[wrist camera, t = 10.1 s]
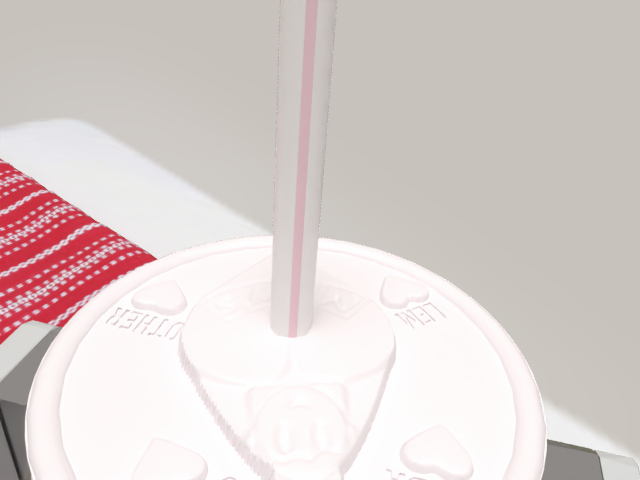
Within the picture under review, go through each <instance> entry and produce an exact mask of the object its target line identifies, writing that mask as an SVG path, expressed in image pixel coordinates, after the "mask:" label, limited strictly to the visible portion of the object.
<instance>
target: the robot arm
mask: <svg viewBox="0 0 640 480" xmlns="http://www.w3.org/2000/svg"><path fill="white" fill-rule="evenodd" d="M62 328H63V327H58V326H54V325H50V324H46V323H42V322H38V321H34V320H32V321H29V322H27V323H24V324H22V325H21V326H20V327H19V328H18V329H16V330H15V331H14V332H13V333H12V334H11V335H10V336H9V337H8V338H7V339H6V340H5V341H4V342H3V343H2V344H1V345H0V480H31V475H32V474H31V471H30V467H29V463H28V460H27V452H26V443H25V415H26V409H27V403H28V397H29V393H30V390H31V386H32V383H33V380H34V377H35V374H36V372H37V370H38V368H39V365H40V363H41V361H42V359H43V357H44V355H45V354H46V352H47V350H48V348H49V347H50V345H51V343H52V342H53V340H54V339H55V338H56V336H57V335H58V334H59V332H60V331H61V330H62ZM541 480H640V471H639V468H638V465H637V464H636V462H635V461H634V460H633V458H629V457H624V456H620V455H615V454H611V453H606V452H602V451H597V450H592V449H589V448H585V447H580V446H575V445H571V444H566V443H562V442H557V441H553V440H548V439H547V451H546V458H545V466H544V471H543V475H542V478H541Z"/></svg>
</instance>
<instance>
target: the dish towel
mask: <svg viewBox="0 0 640 480" xmlns="http://www.w3.org/2000/svg"><path fill="white" fill-rule="evenodd" d="M155 260H157V259H156V258H155V257H154V256H152V255H151V254H150V253H148V252H147V251H145V250H143V249H141V248H140V247H139V246H137V245H136V244H134V243H132V242H131V241H129V240H127V239H125V238H124V237H122V236H121V235H119V234H117V233H116V232H114V231H113V230H111V229H109V228H108V227H107V226H105V225H103V224H101V223H99V222H97V221H95V220H94V219H93V218H91V217H90V216H88V215H87V214H85V213H84V212H83V211H82V210H80V209H79V208H77V207H75V206H73V205H72V204H70V203H68V202H66V201H65V200H63V199H62V198H60V197H59V196H57V195H56V194H55V193H54V192H51V191H49V190H47V189H46V188H45V187H44V186H42V185H40V184H39V183H38V182H36V181H35V180H34V179H33V178H32V177H29V176H27V175H25V174H24V173H22V172H20V171H18V170H17V169H15V168H14V167H13V166H12V165H10V164H9V163H7V162H4V161H3V160H1V159H0V345H1V344H2V343H3V342H4V341H5V340H6V339H7V338H8V337H9V336H10V335H11V334H12V333H13V332H14V331H15V330H16V329H18V328H19V327H20V326H21V325H22V324H24V323H27V322H29V321H32V320H34V321H38V322H42V323H46V324H50V325H54V326H58V327H64V326H65V325H66V324H67V323H68V321H69V320H70V319H71V318H72V317H73V316H74V315H75V314H76V313H77V312H78V311H79V310H80V309H81V308H82V307H83V306H84V305H85V304H86V303H88V302H89V301H90V300H91V299H92V298H93V297H95V296H96V295H97V294H99V293H100V292H101V291H102V290H104V289H105V288H106V287H107V286H109V285H110V284H112V283H114V282H115V281H117V280H119V279H120V278H122V277H124V276H125V275H127V274H129V273H130V272H132V271H134V270H135V269H137V268H139V267H141V266H143V265H146V264H148V263H150V262H153V261H155Z"/></svg>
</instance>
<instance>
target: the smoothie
mask: <svg viewBox="0 0 640 480" xmlns="http://www.w3.org/2000/svg"><path fill="white" fill-rule="evenodd" d="M336 9H337V0H280V25H279V56H278V89H277V120H276V151H275V183H274V216H273V235H267V236H250V237H239V238H233V239H228V240H222V241H216V242H210V243H205V244H202V245H198V246H195V247H191V248H188V249H185V250H181V251H178V252H174V253H171V254H169V255H167V256H164V257H162V258H160V259H157V260H155V261H153V262H150V263H148V264H146V265H143V266H141V267H139V268H137V269H135V270H134V271H132V272H130V273H129V274H127V275H125V276H124V277H122V278H120V279H119V280H117V281H115V282H114V283H112V284H110V285H109V286H107V287H106V288H105V289H104V290H102V291H101V292H100V293H99V294H97V295H96V296H95V297H93V298H92V299H91V300H90V301H89V302H88V303H86V304H85V305H84V306H83V307H82V308H81V309H80V310H79V311H78V312H77V313H76V314H75V315H74V316H73V317H72V318H71V319H70V320H69V321H68V323H67V324H66V325H65V326H64V327H63V328H62V330H61V331H60V332H59V334H58V335H57V336H56V338H55V339H54V340H53V342H52V343H51V345H50V347H49V348H48V350H47V352H46V354H45V355H44V357H43V359H42V361H41V363H40V365H39V368H38V370H37V372H36V374H35V377H34V380H33V383H32V386H31V390H30V393H29V397H28V403H27V409H26V415H25V443H26V452H27V460H28V463H29V467H30V471H31V474H32V475H31V480H541V478H542V475H543V471H544V466H545V458H546V451H547V426H546V419H545V411H544V406H543V402H542V399H541V395H540V391H539V389H538V386H537V383H536V381H535V378H534V376H533V373H532V371H531V369H530V367H529V366H528V364H527V361H526V360H525V358H524V356H523V354H522V353H521V351H520V350H519V348H518V347H517V345H516V344H515V342H514V341H513V340H512V338H511V337H510V336H509V335H508V333H507V332H506V331H505V330H504V328H503V327H502V326H501V325H500V324H499V323H498V322H497V321H496V320H495V319H494V318H493V317H492V316H491V315H490V314H489V313H488V312H487V311H486V310H485V309H484V308H483V307H482V306H481V305H480V304H479V303H478V302H477V301H476V300H474V299H473V298H471V297H470V296H469V295H467V294H466V293H464V292H463V291H461V290H460V289H459V288H457V287H456V286H455V285H453V284H452V283H450V282H449V281H448V280H446V279H444V278H442V277H440V276H439V275H437V274H435V273H433V272H431V271H429V270H427V269H425V268H423V267H422V266H420V265H418V264H416V263H414V262H411V261H408V260H406V259H403V258H401V257H398V256H395V255H393V254H390V253H388V252H385V251H382V250H379V249H374V248H371V247H367V246H363V245H359V244H355V243H352V242H348V241H341V240H334V239H328V238H320V237H318V236H319V223H320V211H321V199H322V185H323V173H324V161H325V148H326V136H327V122H328V110H329V98H330V85H331V73H332V59H333V47H334V34H335V22H336Z"/></svg>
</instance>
